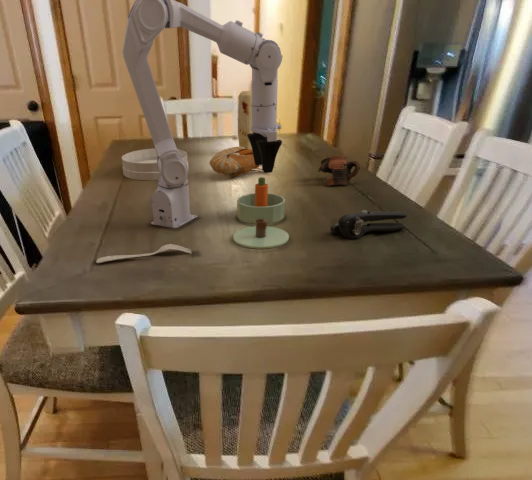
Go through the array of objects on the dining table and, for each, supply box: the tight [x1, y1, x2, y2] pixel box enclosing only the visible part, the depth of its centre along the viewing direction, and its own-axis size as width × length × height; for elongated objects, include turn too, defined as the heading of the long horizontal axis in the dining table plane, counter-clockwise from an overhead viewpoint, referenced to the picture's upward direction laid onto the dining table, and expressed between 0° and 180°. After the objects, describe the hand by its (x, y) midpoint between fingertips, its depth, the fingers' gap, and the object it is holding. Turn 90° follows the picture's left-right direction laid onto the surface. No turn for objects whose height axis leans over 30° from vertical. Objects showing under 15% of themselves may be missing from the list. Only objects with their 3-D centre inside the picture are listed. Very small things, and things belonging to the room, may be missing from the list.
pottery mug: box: [317, 155, 361, 187], centre depth 137 cm, size 12×10×8 cm
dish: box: [121, 147, 190, 181], centre depth 155 cm, size 22×22×5 cm
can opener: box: [329, 209, 408, 240], centre depth 103 cm, size 18×7×6 cm, turn 106°
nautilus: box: [208, 146, 276, 178], centre depth 146 cm, size 8×22×15 cm
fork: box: [96, 243, 192, 264], centre depth 98 cm, size 3×21×3 cm, turn 98°
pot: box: [236, 192, 286, 225], centre depth 114 cm, size 12×12×4 cm
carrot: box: [254, 176, 269, 207], centre depth 113 cm, size 3×3×9 cm
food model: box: [237, 90, 253, 149], centre depth 167 cm, size 10×7×20 cm
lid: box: [232, 219, 290, 250], centre depth 102 cm, size 12×12×4 cm
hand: (263, 168), depth 113 cm, fingers open, 7 cm apart
